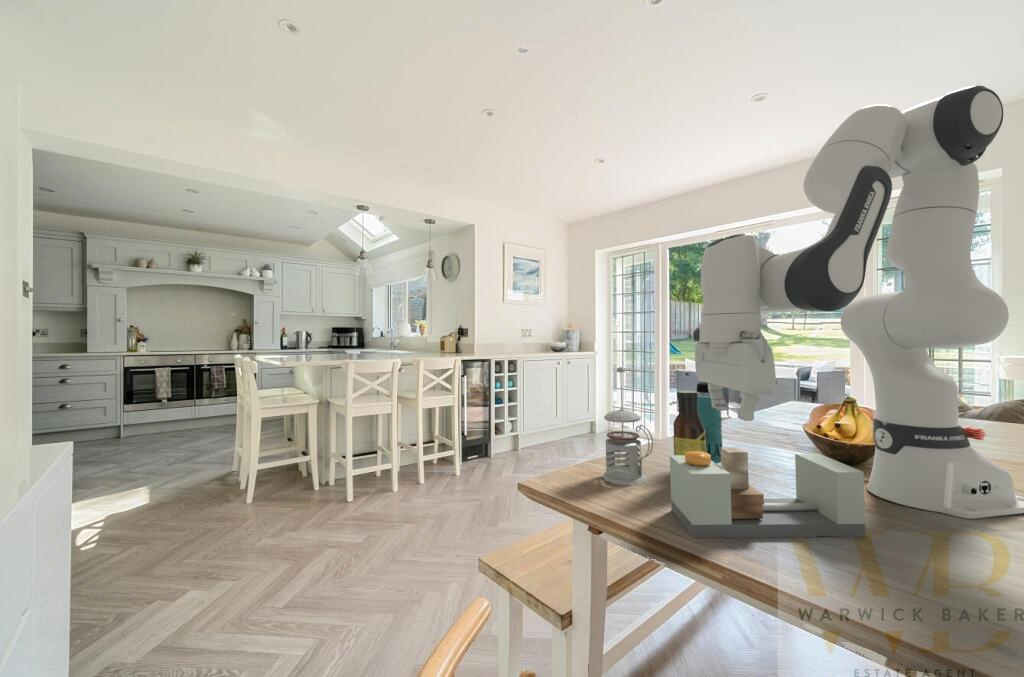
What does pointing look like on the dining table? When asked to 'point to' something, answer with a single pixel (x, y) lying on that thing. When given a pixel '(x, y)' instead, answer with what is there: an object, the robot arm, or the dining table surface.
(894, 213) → the robot arm
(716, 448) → the beverage bottle
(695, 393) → the sauce bottle
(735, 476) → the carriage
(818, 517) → the rail bench
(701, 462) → the button
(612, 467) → the french press
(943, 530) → the dining table surface
